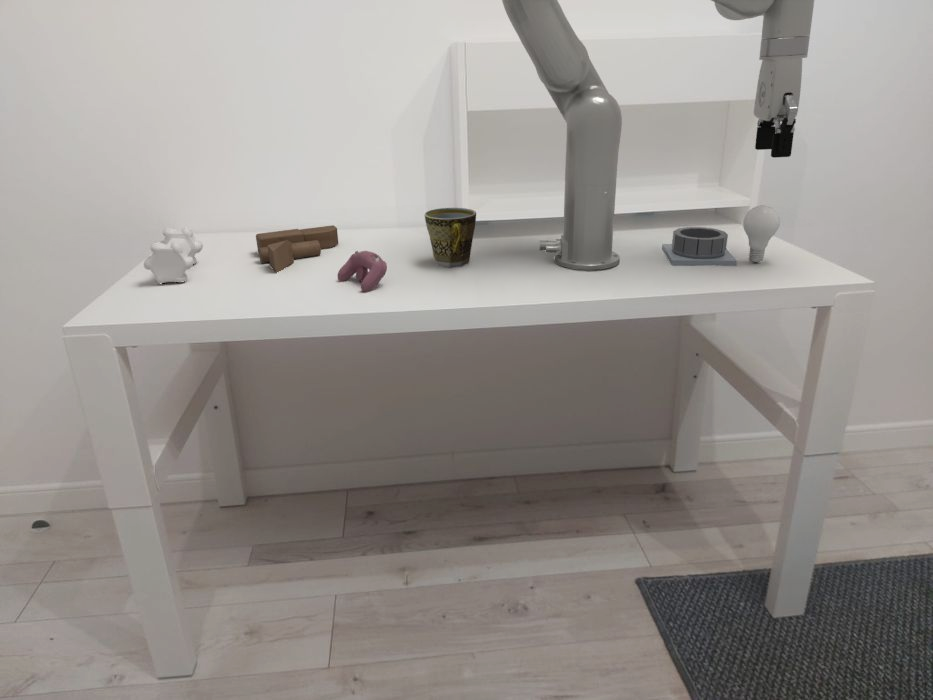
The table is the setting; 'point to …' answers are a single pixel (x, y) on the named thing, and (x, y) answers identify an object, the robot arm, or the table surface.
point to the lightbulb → (760, 230)
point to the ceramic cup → (451, 235)
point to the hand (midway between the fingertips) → (772, 152)
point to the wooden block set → (294, 245)
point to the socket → (699, 247)
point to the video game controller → (364, 269)
